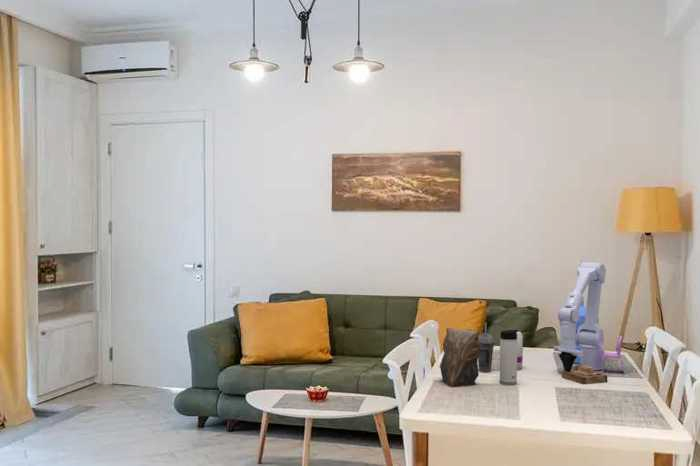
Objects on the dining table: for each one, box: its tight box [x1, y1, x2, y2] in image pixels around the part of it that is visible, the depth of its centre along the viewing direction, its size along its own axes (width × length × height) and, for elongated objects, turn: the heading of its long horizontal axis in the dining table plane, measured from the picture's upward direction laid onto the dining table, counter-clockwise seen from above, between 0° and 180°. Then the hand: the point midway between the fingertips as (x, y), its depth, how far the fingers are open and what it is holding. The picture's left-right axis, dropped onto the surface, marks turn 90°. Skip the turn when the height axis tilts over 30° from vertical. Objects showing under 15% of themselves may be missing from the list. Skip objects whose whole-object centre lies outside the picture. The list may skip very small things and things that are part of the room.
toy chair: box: [601, 335, 626, 375], centre depth 278 cm, size 8×9×15 cm
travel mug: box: [499, 329, 519, 386], centre depth 256 cm, size 6×7×20 cm
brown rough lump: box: [439, 327, 480, 388], centre depth 256 cm, size 13×13×20 cm
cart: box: [571, 364, 597, 377], centre depth 264 cm, size 5×8×5 cm, turn 23°
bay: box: [561, 370, 608, 385], centre depth 264 cm, size 11×12×2 cm
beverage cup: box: [477, 321, 496, 373], centre depth 277 cm, size 7×7×20 cm
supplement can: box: [517, 331, 524, 371], centre depth 284 cm, size 8×8×15 cm
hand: (567, 371), depth 272 cm, fingers closed
